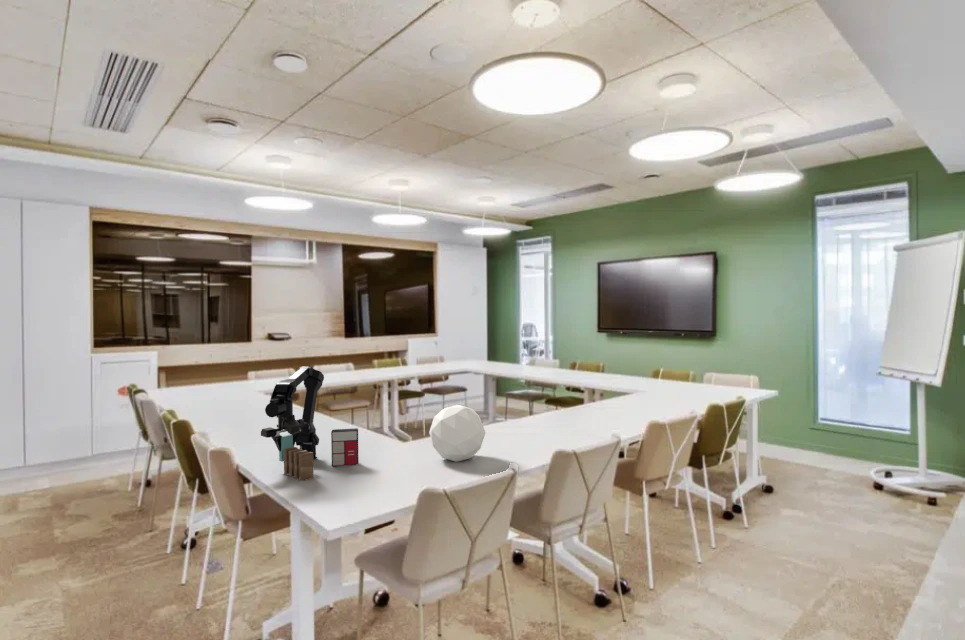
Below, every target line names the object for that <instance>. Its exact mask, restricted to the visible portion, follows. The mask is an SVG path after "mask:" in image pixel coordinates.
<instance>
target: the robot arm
mask: <svg viewBox="0 0 965 640" xmlns="http://www.w3.org/2000/svg"><path fill="white" fill-rule="evenodd" d="M324 379H325V375H324V373H323V372H322V371H320V370H317V369H315V368H313V367H311V366H299V368H298V369H297V371H295V372H294V373H293V374H292V375H290V376H289V378H287V379H284V380H280V381H278V382H277V383H275V386H274V388H273V391H272V394H271V396H270V400H269V402H268V404H267V405H266V406H265V408H264V411H265V414H266V416H267V417H269V418H277V424H276V428H274V427H266V428H265V427H264V428H261V430H260V436H261V437H264V438H272V440H273V441H274V445H275V446H276V448H277V450H278V452H279V451H280V452H281V437H282V436H283V435H281V433H286V432H287V433H288V434H291V435H293V447H295V445H296V447H298V446H299V449H303V451H304V450H307V451H308V452H313V460H315V459H316V458H317V459H318V456H317V454H316V453H317V451H316V449H317V446H319V443H320V438H319V435H317V433H316V432H317V428H316V426H315V424H314V417H315V413H316V412H315V411H316V403H317V397H318V392H319V390H320V389H321V388H322V386H323V383H324ZM302 382H303V386H304V388H305V390H306V391H305V397H304V402H303V403H304V404H303V410H302V418H300V419H296V416H295V414H294V408H293V406H294V405H293V403H294V402H293V401H295V399H296V398H295V397H294V395H295V393H296V392H297V387H298V386H299V385H300V384H301V383H302Z"/></svg>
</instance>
